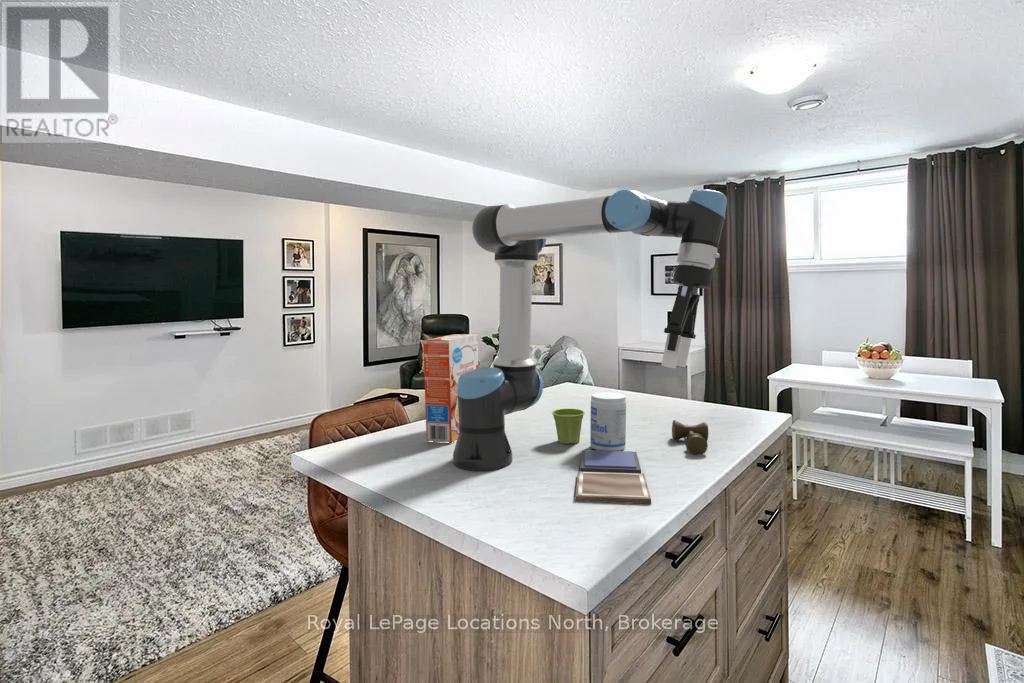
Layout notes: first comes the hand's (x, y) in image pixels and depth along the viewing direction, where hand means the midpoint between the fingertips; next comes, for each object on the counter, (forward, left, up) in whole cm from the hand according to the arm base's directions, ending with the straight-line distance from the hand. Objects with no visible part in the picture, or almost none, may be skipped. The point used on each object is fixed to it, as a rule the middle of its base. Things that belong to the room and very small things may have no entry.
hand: (673, 366), depth 109 cm
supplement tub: (-31, +9, -27) cm, 42 cm away
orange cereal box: (-70, -19, -27) cm, 77 cm away
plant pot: (-42, +4, -27) cm, 50 cm away
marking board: (-7, -11, -26) cm, 30 cm away
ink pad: (-20, 0, -26) cm, 33 cm away
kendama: (-20, +30, -27) cm, 45 cm away
